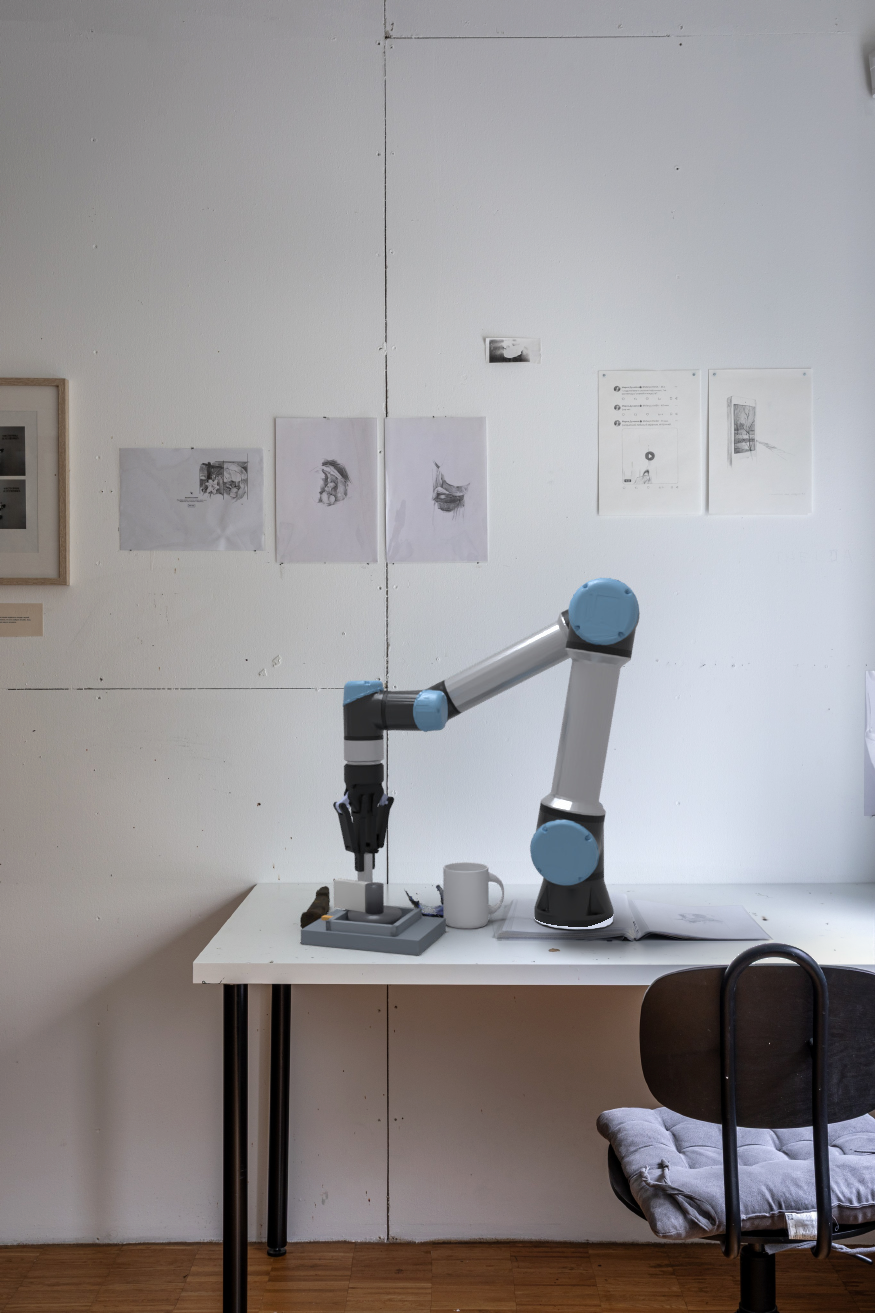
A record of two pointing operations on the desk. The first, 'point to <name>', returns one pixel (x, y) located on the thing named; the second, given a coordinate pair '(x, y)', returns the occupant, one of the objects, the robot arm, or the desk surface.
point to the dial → (364, 902)
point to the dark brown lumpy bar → (316, 907)
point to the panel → (376, 932)
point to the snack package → (436, 909)
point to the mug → (468, 894)
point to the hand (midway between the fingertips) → (365, 888)
